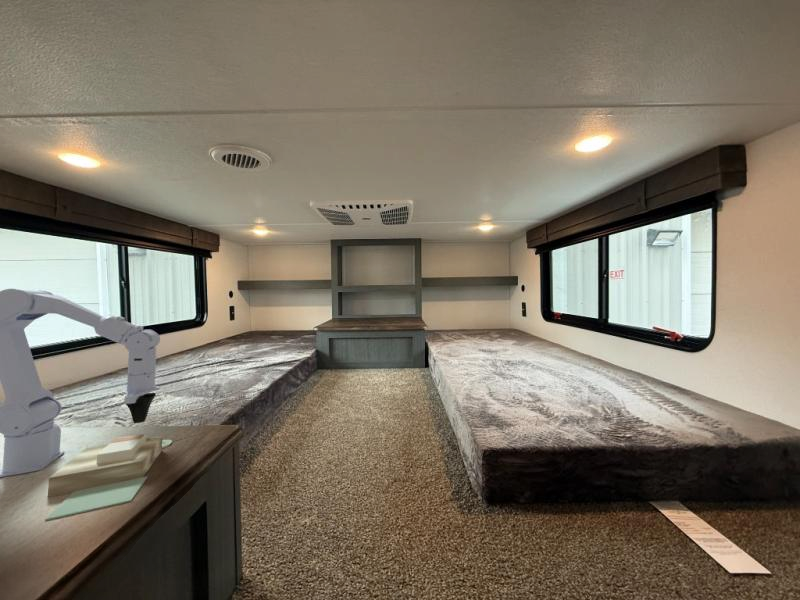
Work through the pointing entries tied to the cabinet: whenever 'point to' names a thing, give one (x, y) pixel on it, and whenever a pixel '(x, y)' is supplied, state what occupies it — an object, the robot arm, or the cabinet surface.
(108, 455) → the white striped box
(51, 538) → the cabinet surface
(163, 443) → the sign
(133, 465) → the cream piece
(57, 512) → the mat
